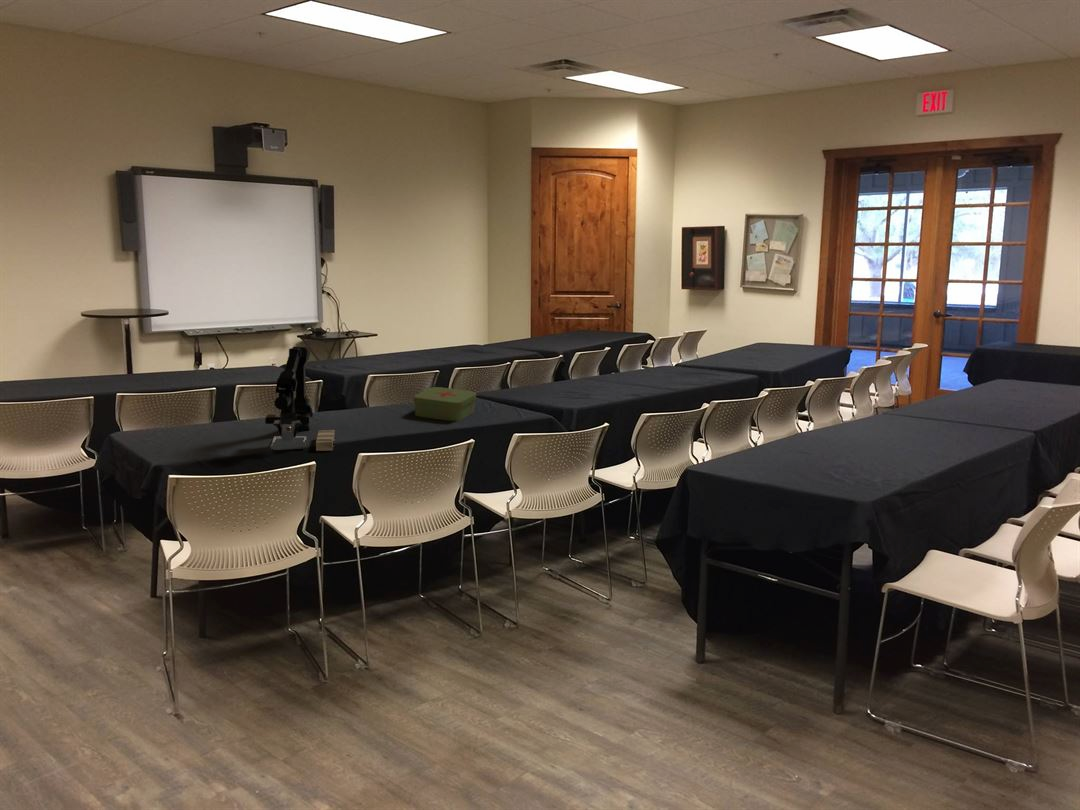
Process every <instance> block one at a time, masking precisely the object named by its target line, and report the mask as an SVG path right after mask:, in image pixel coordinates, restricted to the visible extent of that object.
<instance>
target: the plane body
mask: <svg viewBox="0 0 1080 810" xmlns="http://www.w3.org/2000/svg"><path fill="white" fill-rule="evenodd" d="M335 431H336V430H334V429H326V430H325V429H324V430H323V429H321V430H320V429H318V432H317V437H316V440H315V451H316V452H322V451H323V452H325V451H326V452H328V451H330V452H331V451H334V445H333V441H334V442H335V439H334V437H335V438H336V436H335Z"/></svg>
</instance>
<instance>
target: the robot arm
mask: <svg viewBox="0 0 1080 810" xmlns="http://www.w3.org/2000/svg"><path fill="white" fill-rule="evenodd" d="M310 355H311V350H310V349H309V348H308V347H307V346H292V347H291V348H288V356H287V360H286V364H285V368H284V370H283V371H282V372H280V373H279V376H278V378H277V380H276V387H275V394H278V396H277V397H276V398H275V399H274V402H273V403H274V404H273V405H274V406H275V408H276V409H278V410H280V413H279V416H277V415H276V414H267V415H266V417H265V419H264V421H265V425H273V426H275V427H276V428H277V430H278V433H279V436H281V437H282V429H283V425H292V424H293V422H295V423H294V427H295V431H294V438H295V437H296V436H297V433H298V431H310V430H311V425H310V422H311V418H313V417H314V413H313V412H314V411H313V408H312V405H311V404H310V403H311V402H310V399H309V397H307V390H306V386H307V383H306V380H307V379H306V376H307V375H306V365H307V363H308V362H309V359H310Z"/></svg>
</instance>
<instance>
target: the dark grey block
mask: <svg viewBox="0 0 1080 810" xmlns="http://www.w3.org/2000/svg"><path fill="white" fill-rule="evenodd" d="M294 431H295V426H291V425H287V426H282V441H294V439H295V438H294Z"/></svg>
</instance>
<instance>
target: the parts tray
mask: <svg viewBox="0 0 1080 810" xmlns="http://www.w3.org/2000/svg"><path fill="white" fill-rule="evenodd" d="M295 438H304V440H303V442H305V440H306V441H307V436H304V435H302V436H301V435H300V436H299V435H298V436H297V435H296V437H295ZM276 439H282V437H281V435H279V436H274V437H273V439H272V442H271V444H270V446H269V447H271V446H273V444H274V442H275V440H276Z"/></svg>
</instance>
